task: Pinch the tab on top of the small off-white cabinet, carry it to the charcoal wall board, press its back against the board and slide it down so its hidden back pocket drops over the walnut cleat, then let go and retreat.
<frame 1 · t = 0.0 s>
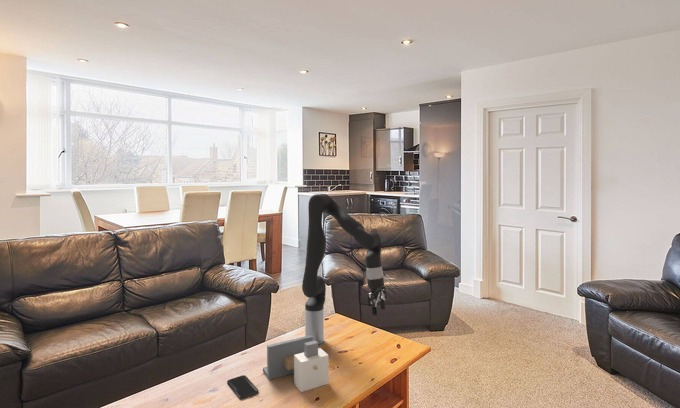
hand: (379, 312, 169), 22 cm above the table, tool pointing down, fingers open, 8 cm apart
phone: (242, 388, 148), on the table
cabinet: (311, 383, 151), on the table
wall board: (290, 372, 159), on the table
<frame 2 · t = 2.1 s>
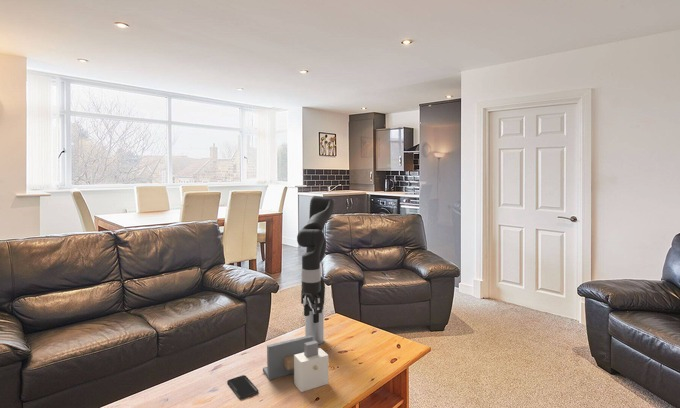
hand: (311, 319, 149), 27 cm above the table, tool pointing down, fingers open, 8 cm apart
nothing on the table moved.
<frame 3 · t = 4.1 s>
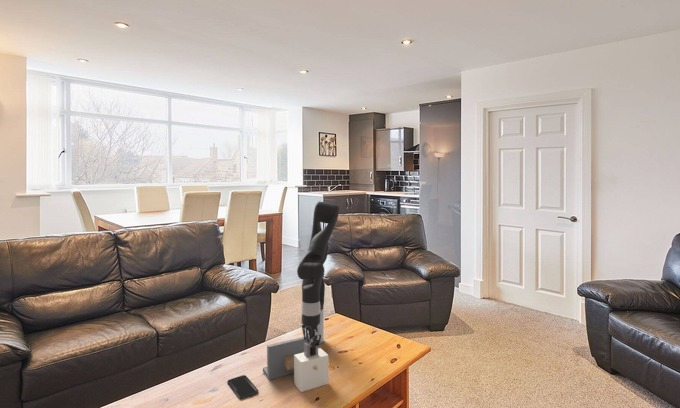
hand: (311, 353, 150), 13 cm above the table, tool pointing down, fingers closed on cabinet, 2 cm apart
cabinet: (311, 383, 151), on the table, touching gripper
everything else where it was.
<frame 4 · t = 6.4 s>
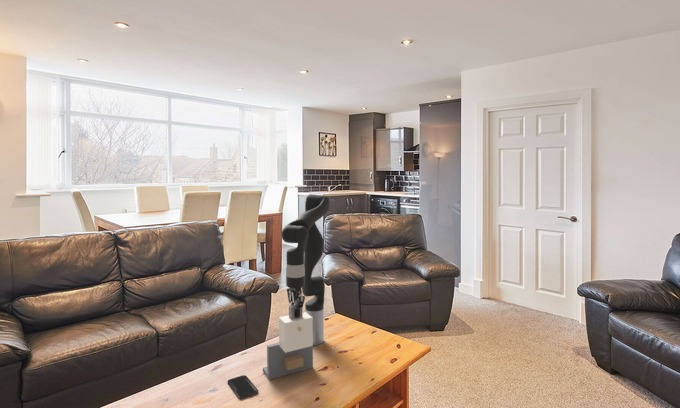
hand: (295, 315, 152), 27 cm above the table, tool pointing down, fingers closed on cabinet, 2 cm apart
cabinet: (295, 345, 153), point 14 cm above the table, touching gripper
everything else where it was.
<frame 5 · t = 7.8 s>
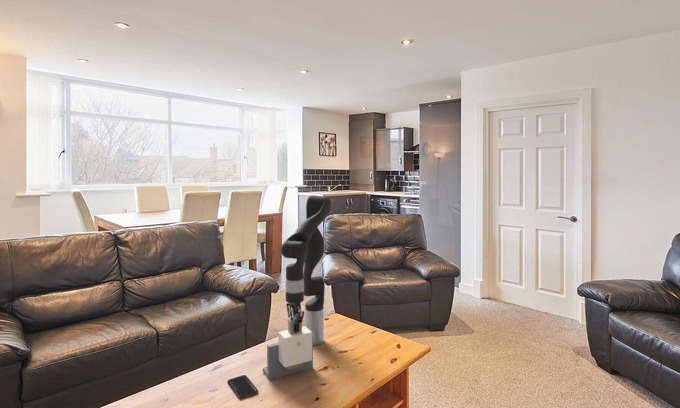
hand: (295, 330, 154), 20 cm above the table, tool pointing down, fingers closed on cabinet, 2 cm apart
cabinet: (295, 360, 155), point 8 cm above the table, touching gripper
everything else where it was.
when the fingers open (16 cm above the table, at t = 8.8 s): cabinet stays where it is, resting on wall board.
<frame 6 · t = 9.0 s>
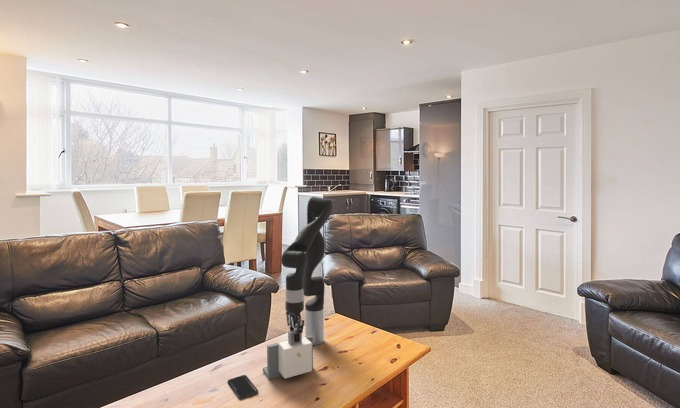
hand: (294, 339, 154), 17 cm above the table, tool pointing down, fingers open, 4 cm apart
cabinet: (295, 370, 155), point 3 cm above the table, touching wall board
everything else where it was.
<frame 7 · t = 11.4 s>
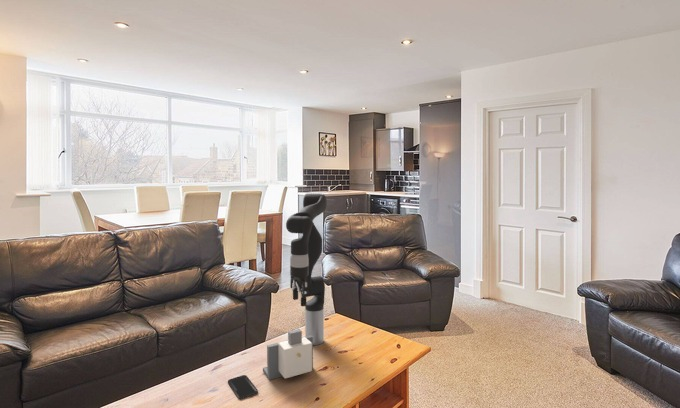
hand: (299, 302, 155), 31 cm above the table, tool pointing down, fingers open, 8 cm apart
nothing on the table moved.
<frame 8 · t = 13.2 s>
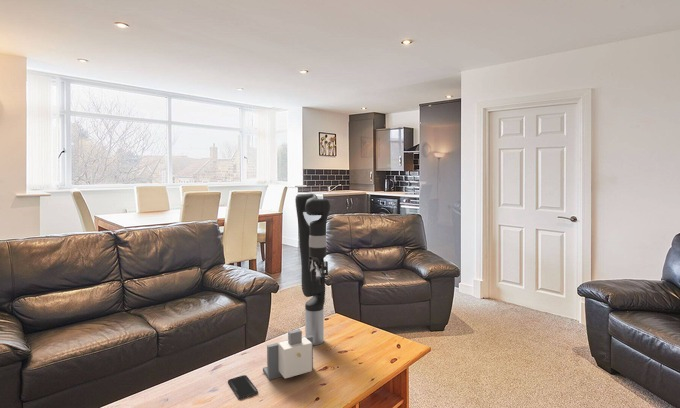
hand: (317, 282, 161), 38 cm above the table, tool pointing down, fingers open, 8 cm apart
nothing on the table moved.
at the end: cabinet 0.4 cm from the target spot, point 3.0 cm above the table; cabinet tilted 0°; the gripper is holding nothing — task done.
